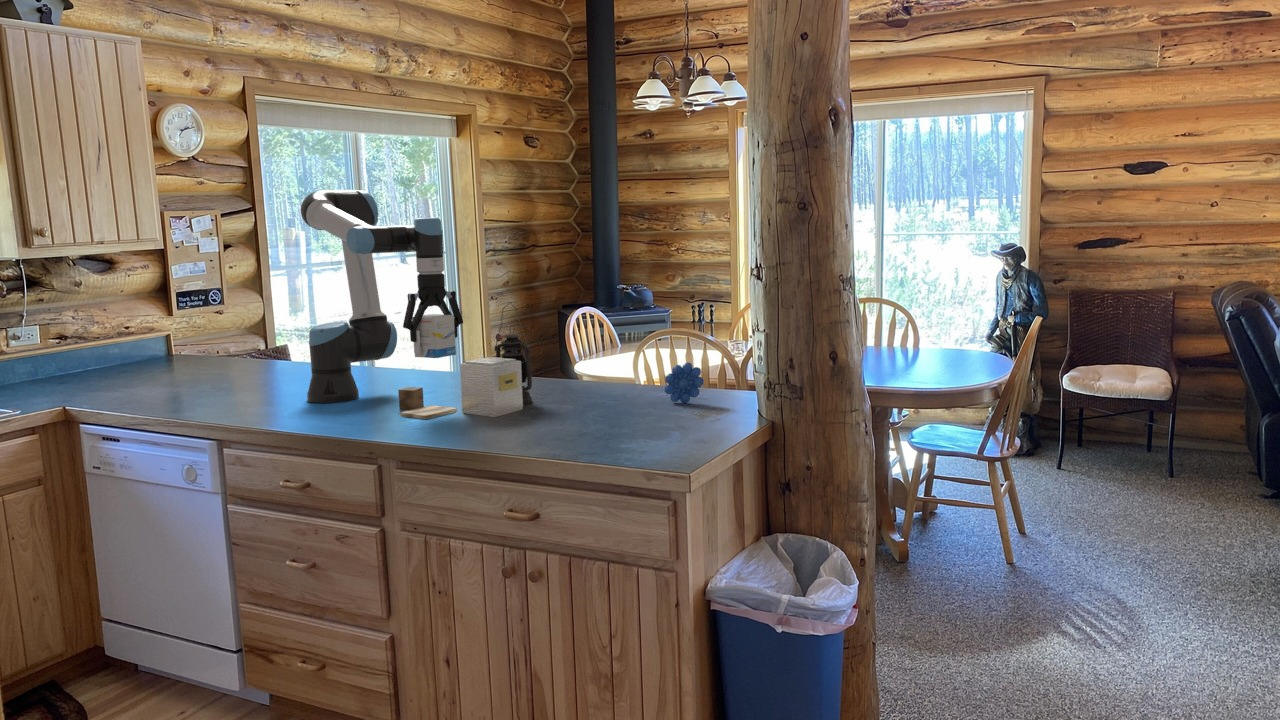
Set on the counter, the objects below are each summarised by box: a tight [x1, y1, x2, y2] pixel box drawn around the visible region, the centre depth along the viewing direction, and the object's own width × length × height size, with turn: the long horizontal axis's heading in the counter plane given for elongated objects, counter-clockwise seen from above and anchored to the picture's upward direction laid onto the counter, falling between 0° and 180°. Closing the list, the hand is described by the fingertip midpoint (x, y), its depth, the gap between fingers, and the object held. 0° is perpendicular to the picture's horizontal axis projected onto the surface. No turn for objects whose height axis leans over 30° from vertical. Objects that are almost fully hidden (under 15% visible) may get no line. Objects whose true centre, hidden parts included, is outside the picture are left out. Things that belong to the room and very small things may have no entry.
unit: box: [459, 356, 524, 418], centre depth 269 cm, size 12×12×15 cm
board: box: [400, 404, 458, 420], centre depth 269 cm, size 10×12×1 cm
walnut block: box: [397, 386, 425, 412], centre depth 276 cm, size 5×5×6 cm
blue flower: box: [664, 362, 704, 404], centre depth 276 cm, size 12×7×12 cm, turn 74°
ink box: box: [412, 313, 457, 359], centre depth 271 cm, size 9×8×12 cm
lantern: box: [494, 301, 533, 406], centre depth 280 cm, size 12×11×30 cm
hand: (435, 351), depth 272 cm, fingers closed on ink box, 10 cm apart
